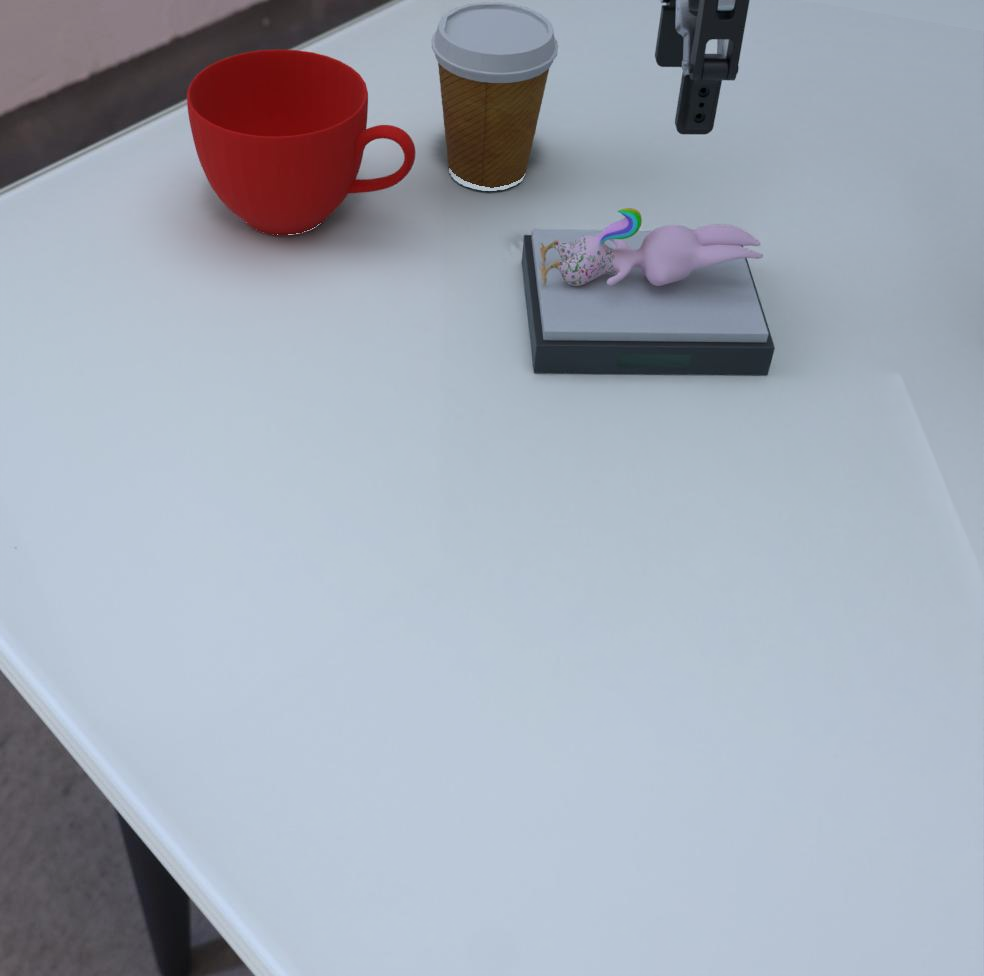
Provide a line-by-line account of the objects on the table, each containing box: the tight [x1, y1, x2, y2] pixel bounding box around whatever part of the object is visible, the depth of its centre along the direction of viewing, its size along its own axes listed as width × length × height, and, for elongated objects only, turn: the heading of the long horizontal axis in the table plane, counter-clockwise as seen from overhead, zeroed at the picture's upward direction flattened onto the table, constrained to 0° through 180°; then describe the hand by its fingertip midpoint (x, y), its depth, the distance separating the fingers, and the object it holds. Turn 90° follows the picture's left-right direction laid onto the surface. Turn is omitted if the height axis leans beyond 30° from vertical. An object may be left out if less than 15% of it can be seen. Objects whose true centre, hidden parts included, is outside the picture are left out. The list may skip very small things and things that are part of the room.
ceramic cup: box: [186, 48, 416, 236], centre depth 97 cm, size 13×17×10 cm
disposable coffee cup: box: [431, 1, 559, 188], centre depth 102 cm, size 10×10×12 cm
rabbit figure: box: [540, 207, 764, 286], centre depth 89 cm, size 6×6×15 cm
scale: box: [521, 228, 776, 376], centre depth 92 cm, size 16×13×3 cm
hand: (681, 96), depth 81 cm, fingers open, 8 cm apart
